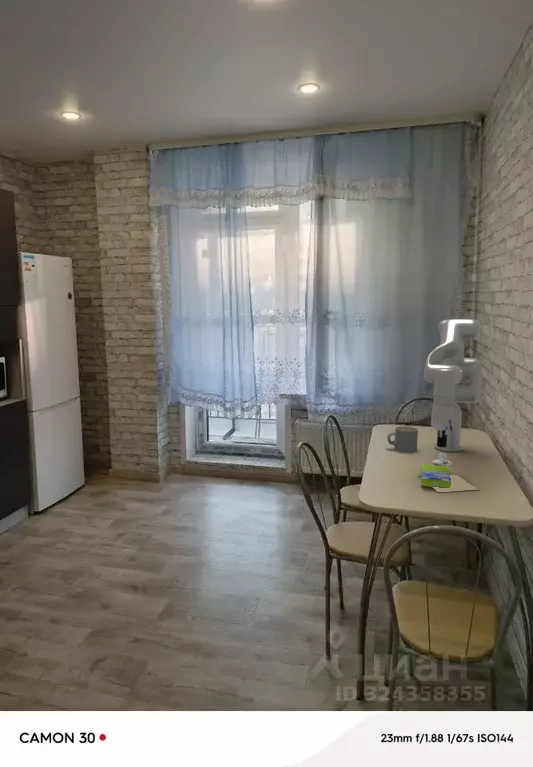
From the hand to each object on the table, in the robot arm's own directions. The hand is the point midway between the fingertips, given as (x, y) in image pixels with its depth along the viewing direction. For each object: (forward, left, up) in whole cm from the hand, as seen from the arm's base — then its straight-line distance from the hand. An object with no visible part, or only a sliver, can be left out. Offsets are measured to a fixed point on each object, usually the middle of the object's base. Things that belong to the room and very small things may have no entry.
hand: (441, 446), depth 201 cm
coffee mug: (-39, 0, -13) cm, 41 cm away
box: (-3, -1, -10) cm, 11 cm away
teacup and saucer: (-19, +7, -13) cm, 24 cm away
